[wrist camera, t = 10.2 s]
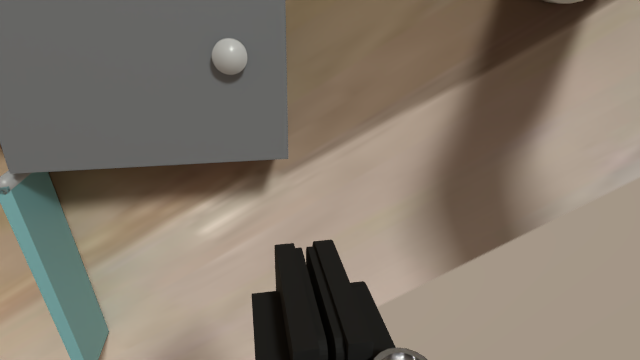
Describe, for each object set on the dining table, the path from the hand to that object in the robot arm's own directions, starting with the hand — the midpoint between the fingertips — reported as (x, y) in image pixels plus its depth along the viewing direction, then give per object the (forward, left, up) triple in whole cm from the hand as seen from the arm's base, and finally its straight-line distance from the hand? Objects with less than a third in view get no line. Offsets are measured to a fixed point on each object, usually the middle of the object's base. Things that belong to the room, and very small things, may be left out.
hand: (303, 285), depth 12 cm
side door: (+18, +14, -27) cm, 35 cm away
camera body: (+9, -2, -27) cm, 29 cm away
